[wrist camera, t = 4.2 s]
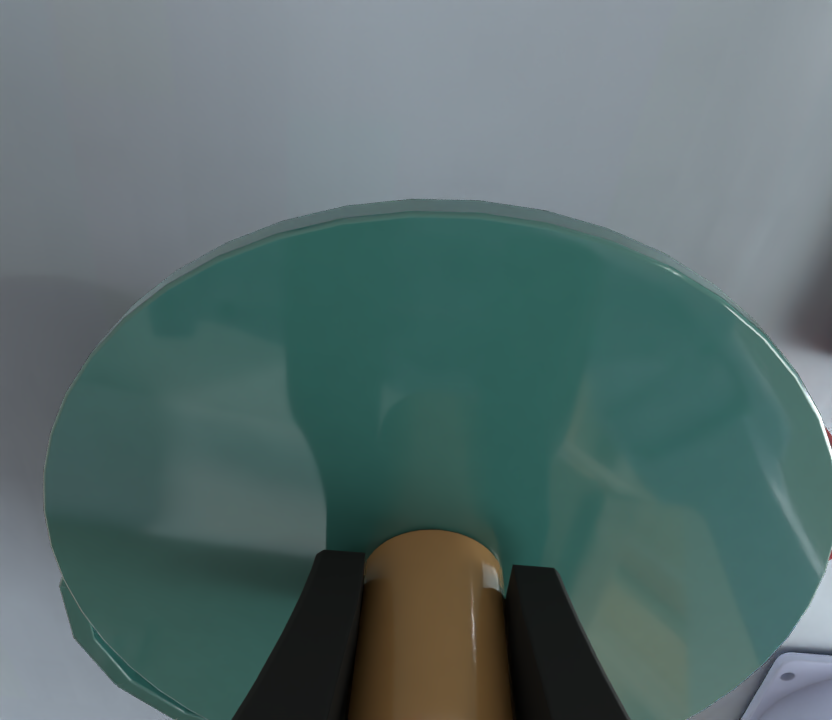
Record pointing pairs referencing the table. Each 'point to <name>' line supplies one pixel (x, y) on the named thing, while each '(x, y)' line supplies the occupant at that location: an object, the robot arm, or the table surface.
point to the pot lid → (440, 461)
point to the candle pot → (118, 663)
